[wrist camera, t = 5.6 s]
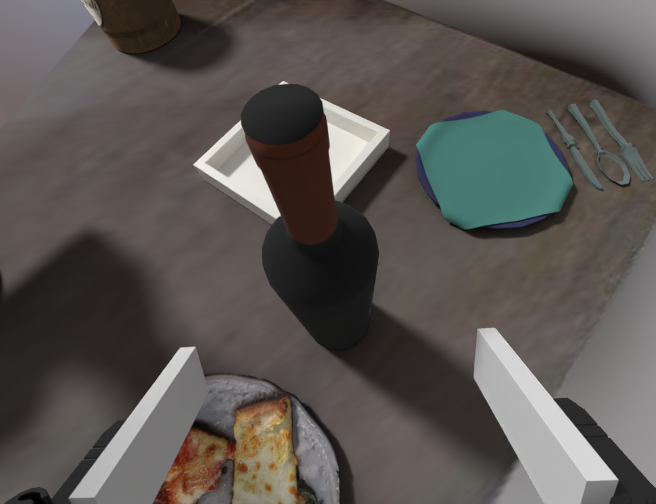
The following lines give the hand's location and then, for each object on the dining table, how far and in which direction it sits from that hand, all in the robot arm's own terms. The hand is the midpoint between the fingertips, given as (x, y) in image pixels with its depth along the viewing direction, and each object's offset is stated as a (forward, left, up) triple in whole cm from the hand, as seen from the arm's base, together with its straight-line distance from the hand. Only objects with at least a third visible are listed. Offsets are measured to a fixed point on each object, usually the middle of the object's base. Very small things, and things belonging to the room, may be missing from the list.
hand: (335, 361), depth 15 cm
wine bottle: (+5, +5, -22) cm, 23 cm away
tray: (+20, +24, -22) cm, 38 cm away
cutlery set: (+37, -3, -22) cm, 44 cm away
